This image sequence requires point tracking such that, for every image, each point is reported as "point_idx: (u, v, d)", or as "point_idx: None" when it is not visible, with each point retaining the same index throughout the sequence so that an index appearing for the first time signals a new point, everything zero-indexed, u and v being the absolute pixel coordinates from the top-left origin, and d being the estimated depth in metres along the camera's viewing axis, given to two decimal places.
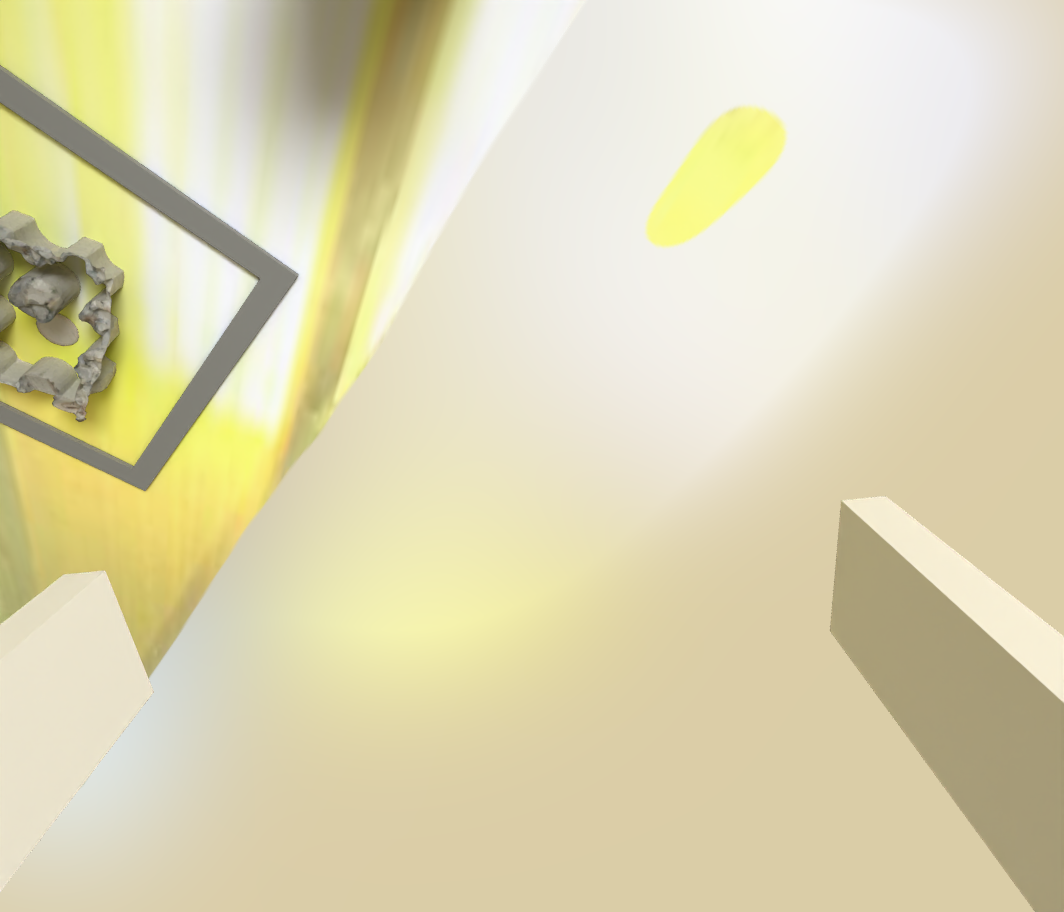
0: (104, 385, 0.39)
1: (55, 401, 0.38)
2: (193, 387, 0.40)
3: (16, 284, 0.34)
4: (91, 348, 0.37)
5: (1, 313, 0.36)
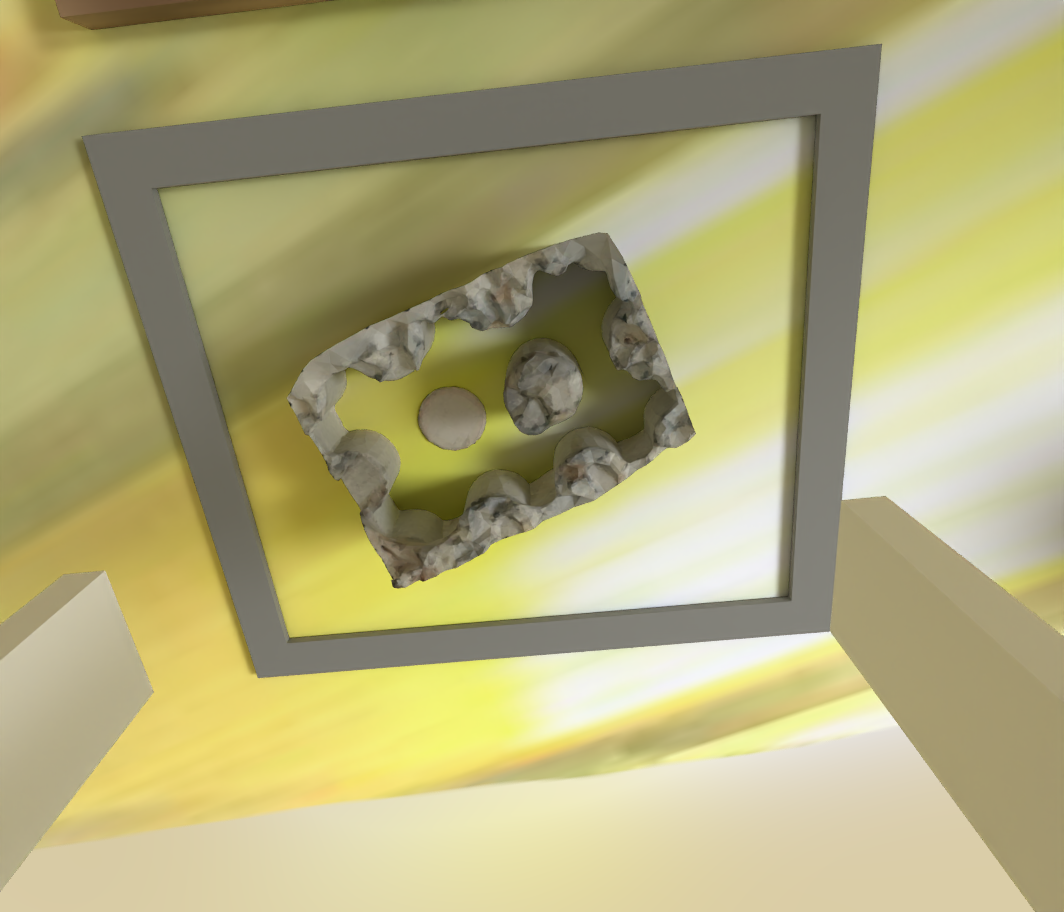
0: None
1: (365, 521, 0.20)
2: (533, 629, 0.24)
3: (551, 360, 0.18)
4: (510, 494, 0.20)
5: (425, 354, 0.19)
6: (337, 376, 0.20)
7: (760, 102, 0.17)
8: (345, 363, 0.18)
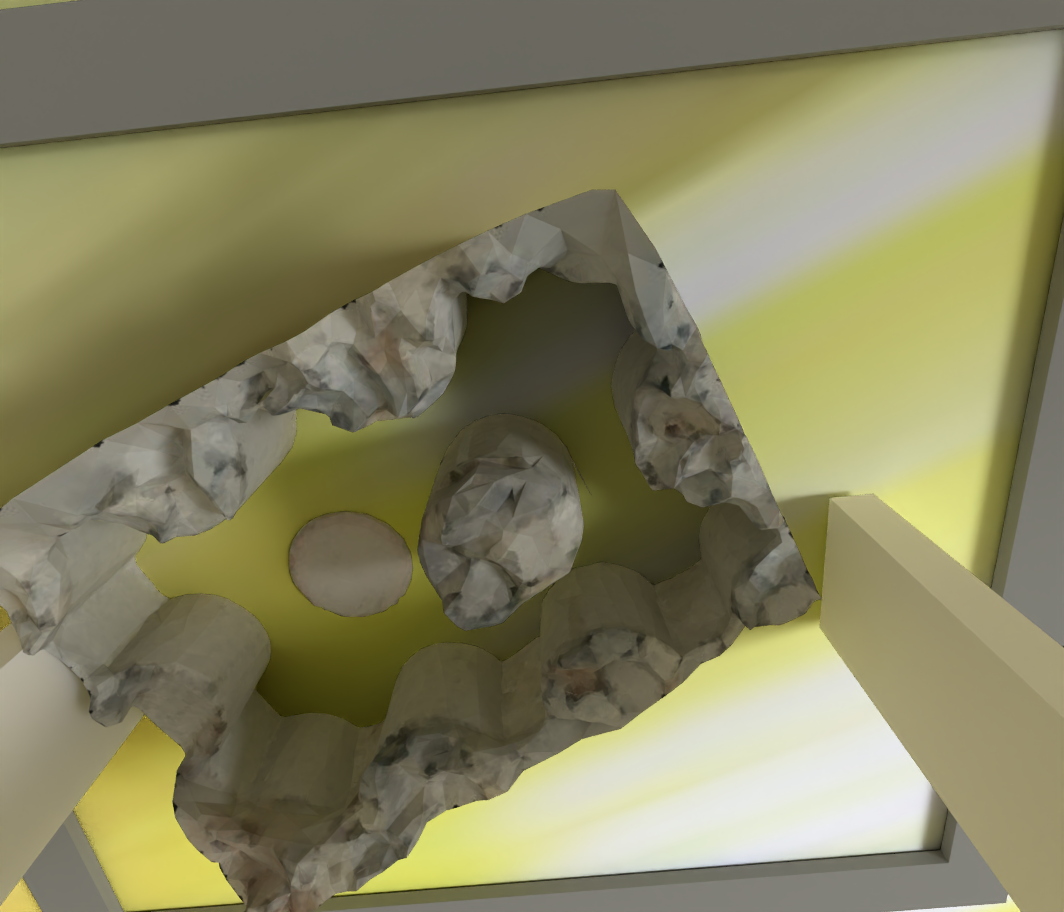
0: None
1: (184, 791, 0.10)
2: (522, 905, 0.14)
3: (510, 481, 0.08)
4: (460, 713, 0.11)
5: (271, 468, 0.10)
6: None
7: None
8: (70, 519, 0.08)
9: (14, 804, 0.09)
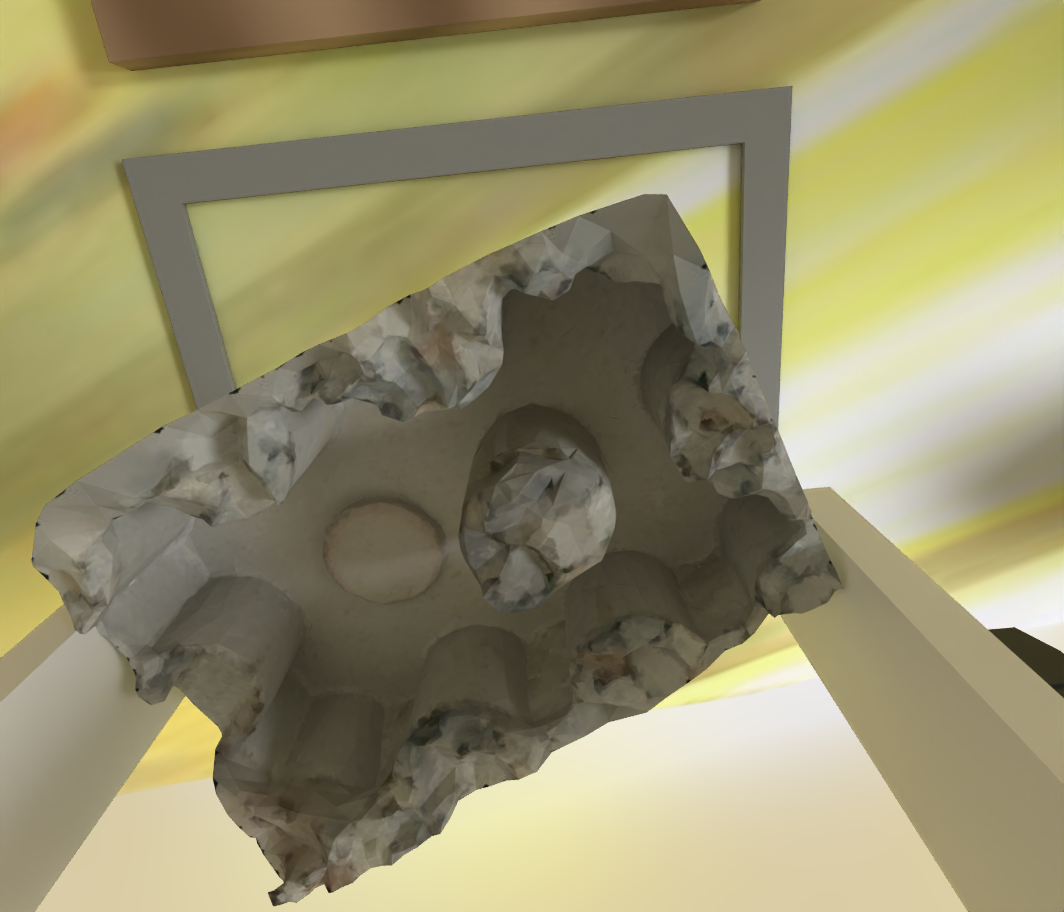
0: None
1: (223, 768, 0.11)
2: None
3: (550, 471, 0.09)
4: (490, 697, 0.11)
5: (313, 457, 0.10)
6: None
7: (694, 133, 0.21)
8: (128, 503, 0.09)
9: (73, 775, 0.09)
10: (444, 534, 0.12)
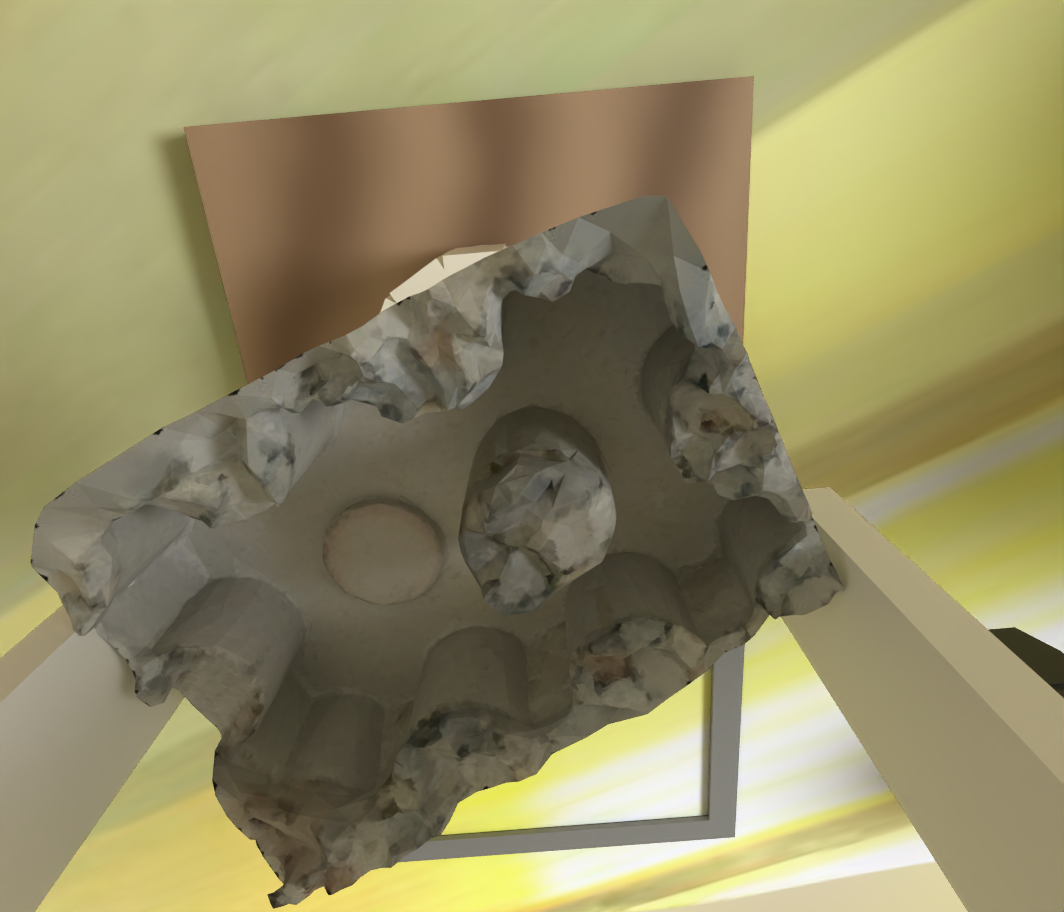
0: None
1: (223, 770, 0.11)
2: (543, 836, 0.36)
3: (550, 472, 0.09)
4: (490, 698, 0.11)
5: (312, 457, 0.10)
6: None
7: None
8: (127, 504, 0.09)
9: (73, 775, 0.09)
10: (444, 535, 0.12)
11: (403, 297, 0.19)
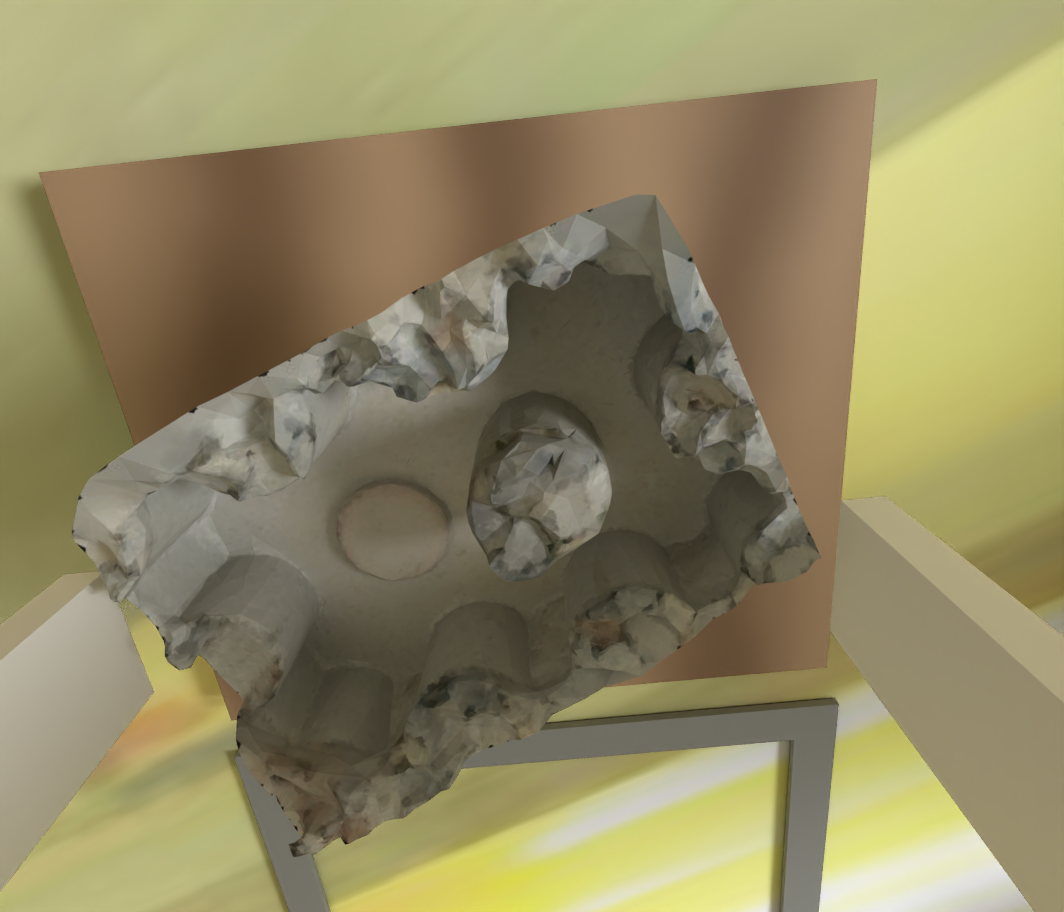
0: None
1: (245, 731, 0.11)
2: None
3: (551, 448, 0.09)
4: (494, 664, 0.12)
5: (330, 439, 0.11)
6: (182, 482, 0.11)
7: (748, 735, 0.23)
8: (163, 478, 0.09)
9: None
10: (450, 515, 0.13)
11: None
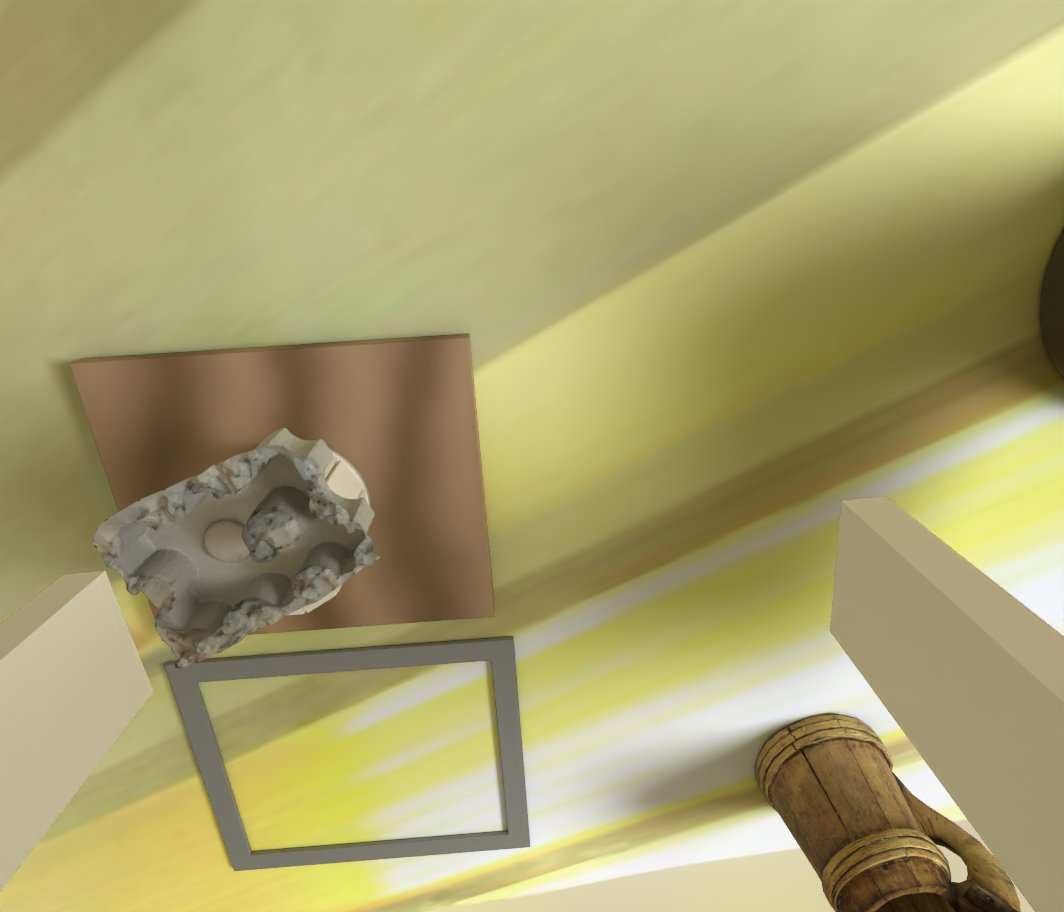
0: None
1: (158, 620, 0.28)
2: (379, 848, 0.46)
3: (270, 515, 0.26)
4: (264, 596, 0.29)
5: (195, 505, 0.28)
6: None
7: (464, 656, 0.40)
8: (127, 522, 0.26)
9: None
10: None
11: None
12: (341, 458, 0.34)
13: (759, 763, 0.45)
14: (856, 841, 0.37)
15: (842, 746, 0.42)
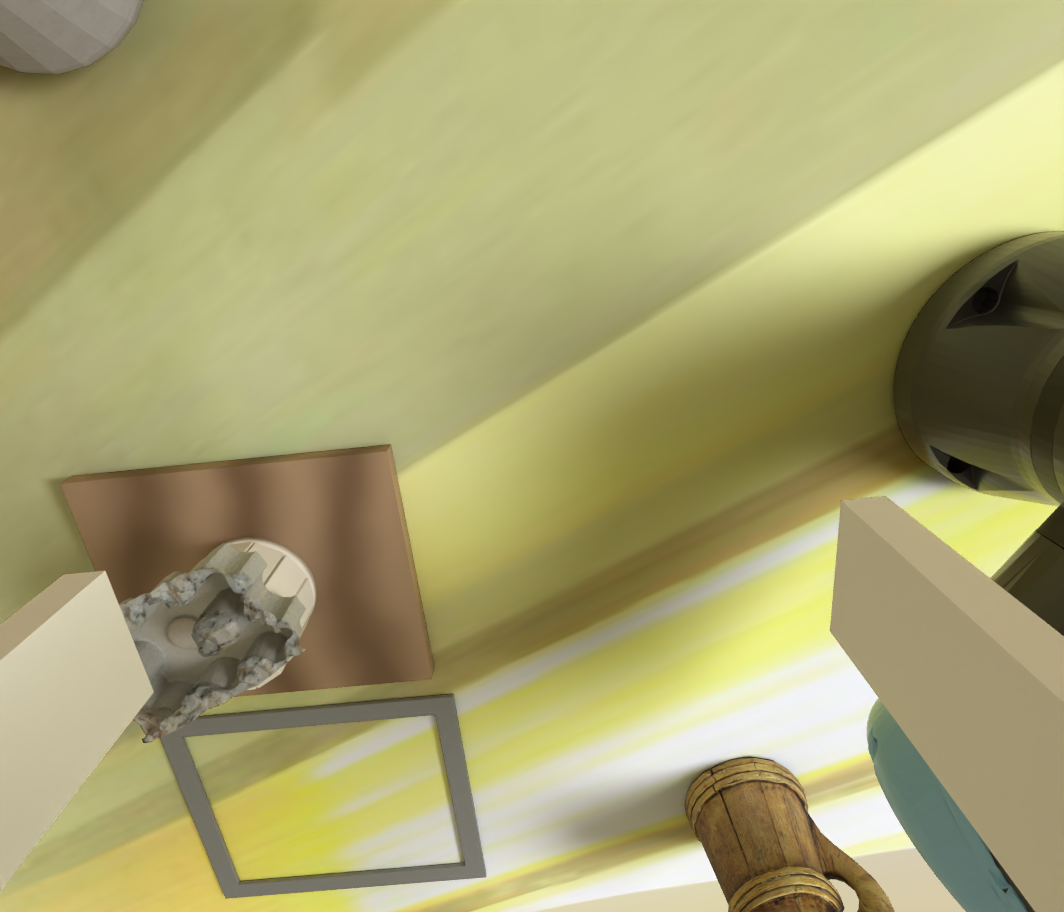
0: None
1: None
2: (351, 878, 0.52)
3: (212, 619, 0.32)
4: (215, 681, 0.35)
5: (156, 608, 0.34)
6: None
7: (411, 712, 0.46)
8: None
9: None
10: None
11: None
12: (287, 552, 0.40)
13: (687, 801, 0.49)
14: (754, 878, 0.41)
15: (755, 788, 0.46)
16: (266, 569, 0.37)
